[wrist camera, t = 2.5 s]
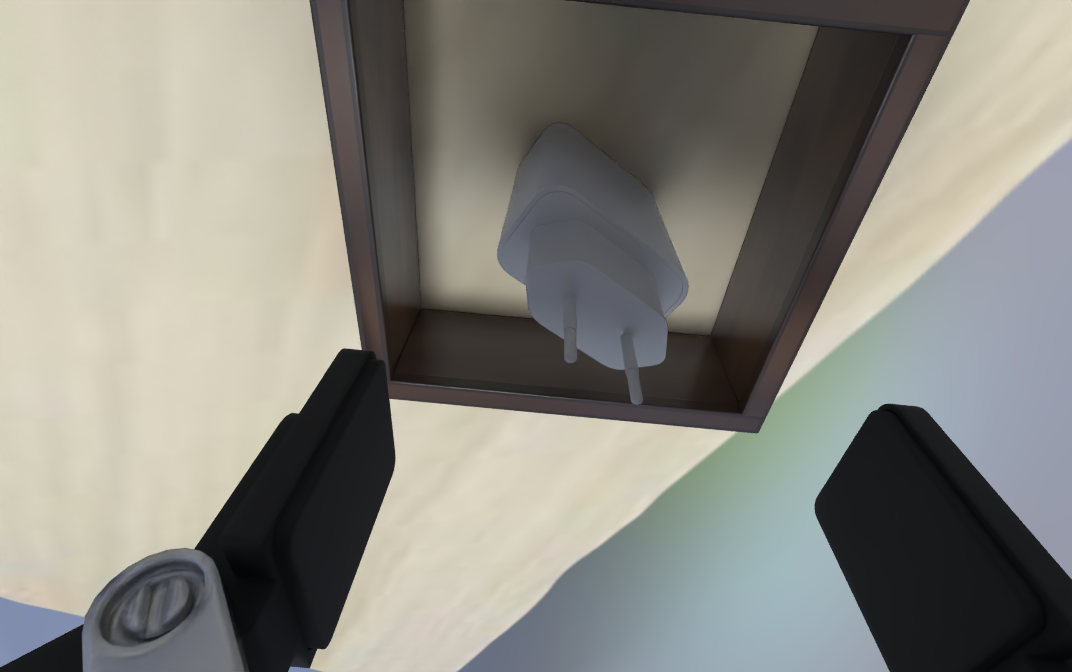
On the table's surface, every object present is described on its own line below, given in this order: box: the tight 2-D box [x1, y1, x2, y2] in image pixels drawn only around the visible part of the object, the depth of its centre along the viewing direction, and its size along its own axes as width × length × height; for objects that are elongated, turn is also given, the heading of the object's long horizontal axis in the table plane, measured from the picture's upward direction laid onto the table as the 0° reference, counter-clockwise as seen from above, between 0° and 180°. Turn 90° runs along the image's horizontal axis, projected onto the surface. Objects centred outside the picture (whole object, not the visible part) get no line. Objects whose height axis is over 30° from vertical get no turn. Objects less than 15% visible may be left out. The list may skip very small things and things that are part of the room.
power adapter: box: [497, 123, 689, 405], centre depth 15 cm, size 3×5×12 cm, turn 54°
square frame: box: [310, 0, 970, 433], centre depth 18 cm, size 15×16×6 cm
